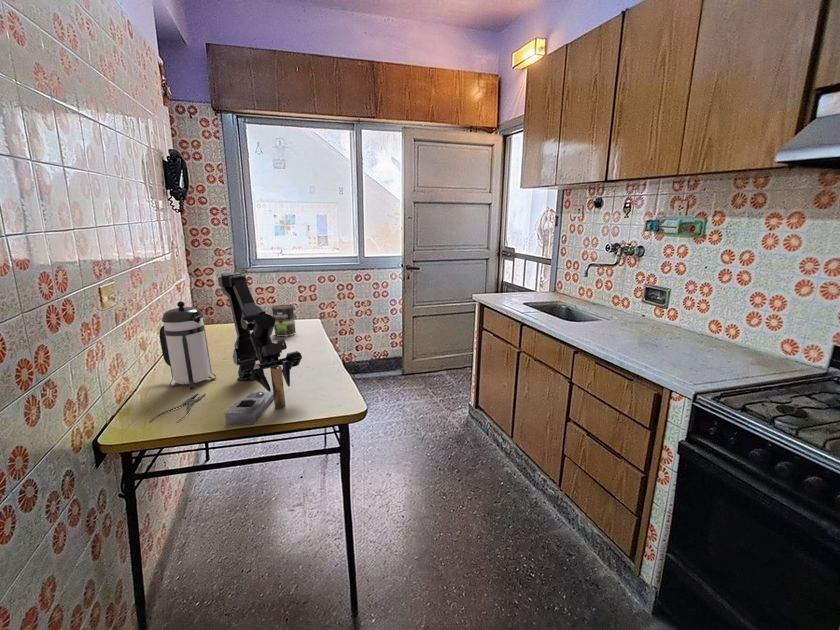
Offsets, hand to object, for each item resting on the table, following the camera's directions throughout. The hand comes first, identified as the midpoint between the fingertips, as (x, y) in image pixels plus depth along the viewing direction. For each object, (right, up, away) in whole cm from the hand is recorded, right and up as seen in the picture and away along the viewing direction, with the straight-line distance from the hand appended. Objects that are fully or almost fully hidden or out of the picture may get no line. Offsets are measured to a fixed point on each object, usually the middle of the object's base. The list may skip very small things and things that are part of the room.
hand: (279, 388), depth 129 cm
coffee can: (-25, +13, +83) cm, 87 cm away
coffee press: (-40, -2, +24) cm, 47 cm away
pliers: (-33, -7, +3) cm, 34 cm away
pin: (-1, -6, +3) cm, 7 cm away
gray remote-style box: (-9, -7, +1) cm, 11 cm away
